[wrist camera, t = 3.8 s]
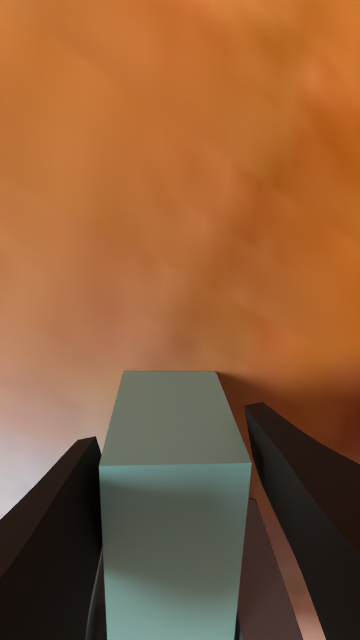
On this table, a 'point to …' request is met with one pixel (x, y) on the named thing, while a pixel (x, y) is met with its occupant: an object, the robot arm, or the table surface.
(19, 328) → the table surface
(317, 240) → the table surface
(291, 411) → the table surface
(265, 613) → the header
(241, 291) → the table surface
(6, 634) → the robot arm
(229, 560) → the plug
